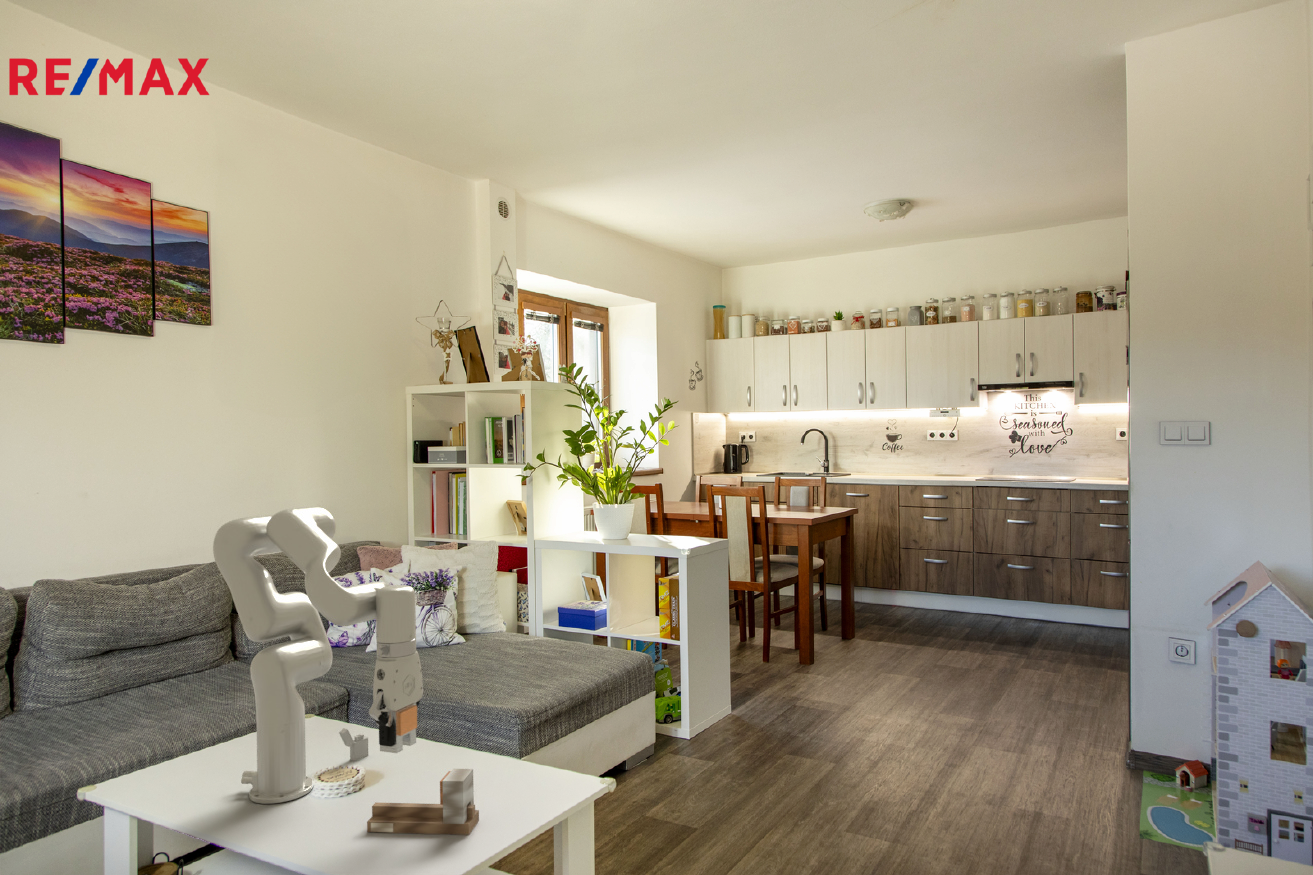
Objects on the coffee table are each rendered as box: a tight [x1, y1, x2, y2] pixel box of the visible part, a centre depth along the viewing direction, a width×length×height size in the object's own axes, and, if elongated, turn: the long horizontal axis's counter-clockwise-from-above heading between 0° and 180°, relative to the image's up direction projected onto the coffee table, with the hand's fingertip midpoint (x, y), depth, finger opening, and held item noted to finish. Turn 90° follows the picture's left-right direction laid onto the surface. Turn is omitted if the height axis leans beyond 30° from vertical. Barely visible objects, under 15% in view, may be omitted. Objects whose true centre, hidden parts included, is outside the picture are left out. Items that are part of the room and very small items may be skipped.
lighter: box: [338, 728, 369, 762], centre depth 195 cm, size 7×2×8 cm, turn 149°
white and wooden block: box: [379, 703, 418, 754], centre depth 163 cm, size 5×6×8 cm
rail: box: [366, 768, 480, 836], centre depth 159 cm, size 20×6×10 cm, turn 84°
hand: (397, 738), depth 163 cm, fingers closed on white and wooden block, 6 cm apart
